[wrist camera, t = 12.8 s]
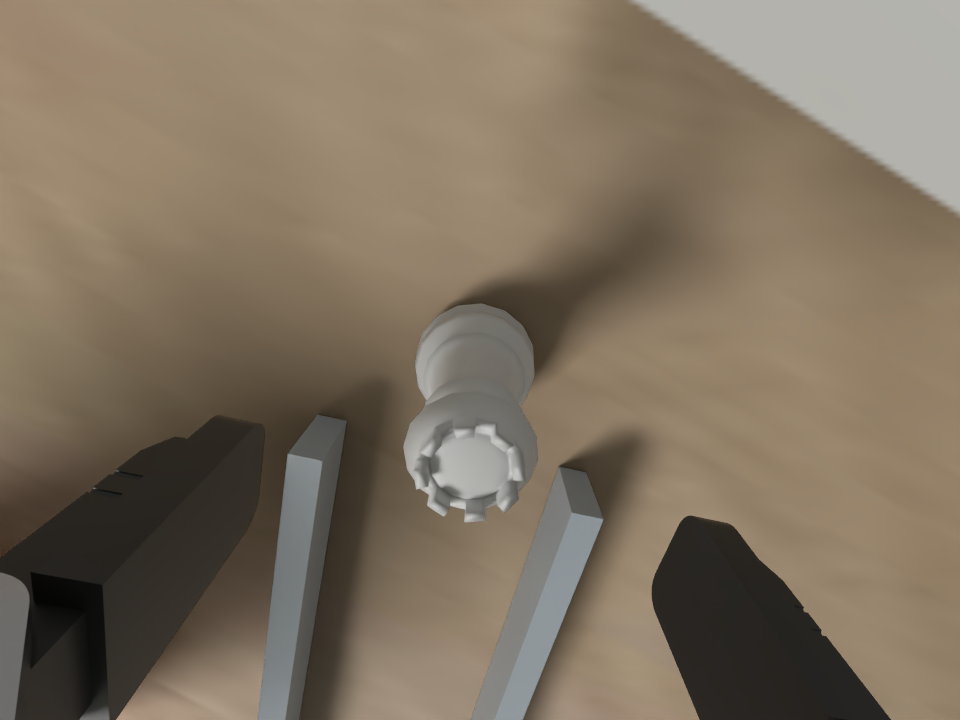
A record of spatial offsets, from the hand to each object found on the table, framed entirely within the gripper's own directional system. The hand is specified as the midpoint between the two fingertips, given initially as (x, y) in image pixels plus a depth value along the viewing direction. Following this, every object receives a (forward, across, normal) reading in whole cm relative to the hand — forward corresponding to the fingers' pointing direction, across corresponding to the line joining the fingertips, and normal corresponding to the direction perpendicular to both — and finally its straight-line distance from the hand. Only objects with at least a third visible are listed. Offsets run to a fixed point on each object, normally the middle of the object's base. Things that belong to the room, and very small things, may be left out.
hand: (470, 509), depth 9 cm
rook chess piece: (+10, 0, 0) cm, 10 cm away
